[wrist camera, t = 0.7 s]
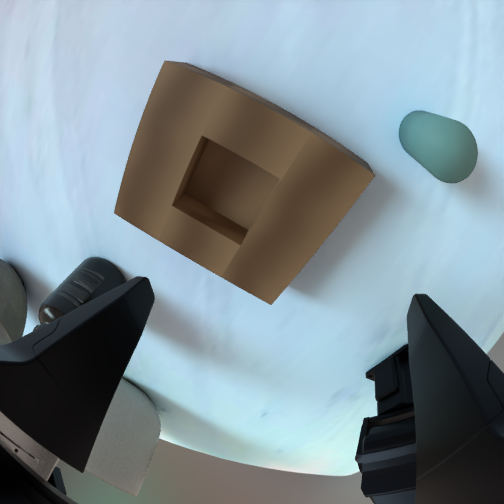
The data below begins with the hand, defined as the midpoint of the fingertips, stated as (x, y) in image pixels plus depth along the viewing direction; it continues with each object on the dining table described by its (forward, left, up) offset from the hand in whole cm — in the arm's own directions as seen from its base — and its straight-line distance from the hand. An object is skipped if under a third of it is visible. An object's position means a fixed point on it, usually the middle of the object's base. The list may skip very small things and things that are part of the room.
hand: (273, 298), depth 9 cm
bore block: (+4, +2, -12) cm, 13 cm away
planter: (+6, +49, -12) cm, 51 cm away
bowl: (+32, +36, -12) cm, 50 cm away
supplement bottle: (+12, +20, -12) cm, 27 cm away
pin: (-5, -8, -12) cm, 15 cm away
